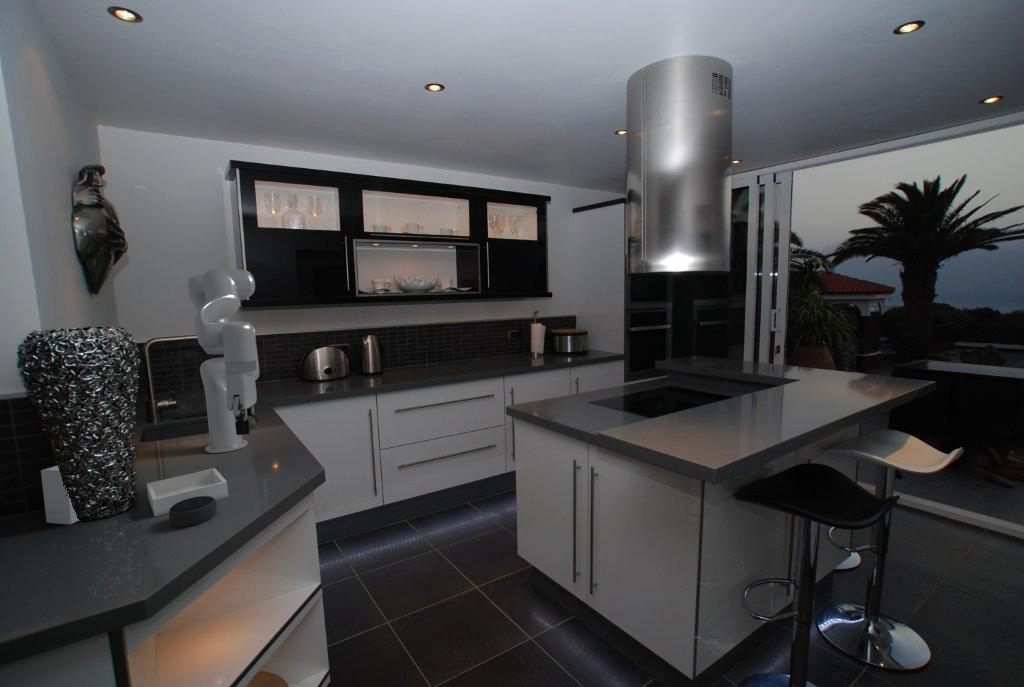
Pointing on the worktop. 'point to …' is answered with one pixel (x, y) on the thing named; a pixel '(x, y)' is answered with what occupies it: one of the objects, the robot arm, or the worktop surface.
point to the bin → (185, 489)
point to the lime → (251, 423)
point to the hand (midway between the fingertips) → (246, 431)
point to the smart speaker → (192, 511)
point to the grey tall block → (56, 498)
